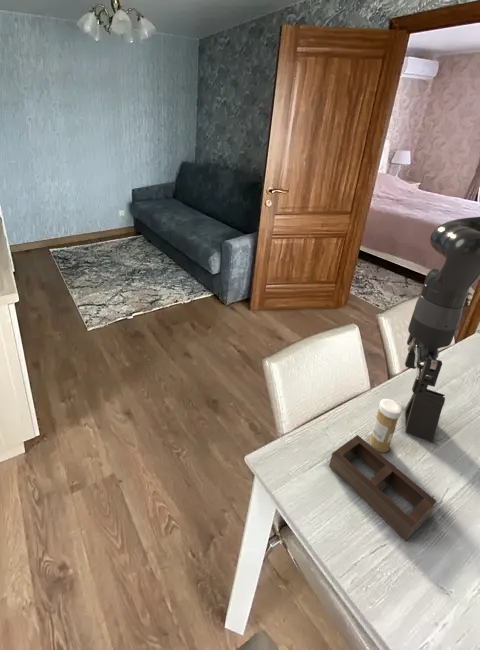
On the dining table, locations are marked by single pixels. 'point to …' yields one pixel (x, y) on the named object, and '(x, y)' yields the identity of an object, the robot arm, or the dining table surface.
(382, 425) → the sprinkles bottle
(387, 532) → the dining table surface
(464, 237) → the robot arm
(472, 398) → the dining table surface
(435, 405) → the phone stand
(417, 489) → the holder
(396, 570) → the dining table surface
